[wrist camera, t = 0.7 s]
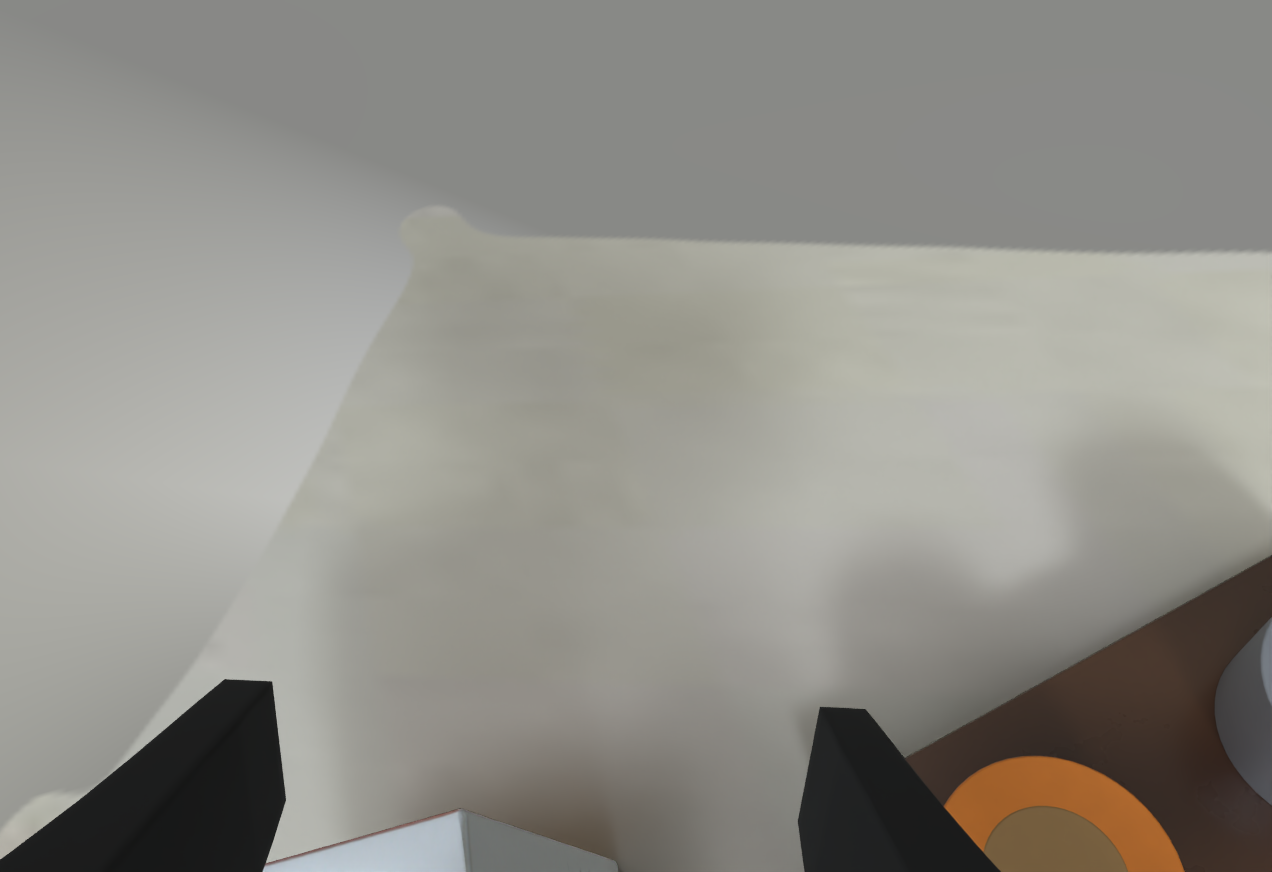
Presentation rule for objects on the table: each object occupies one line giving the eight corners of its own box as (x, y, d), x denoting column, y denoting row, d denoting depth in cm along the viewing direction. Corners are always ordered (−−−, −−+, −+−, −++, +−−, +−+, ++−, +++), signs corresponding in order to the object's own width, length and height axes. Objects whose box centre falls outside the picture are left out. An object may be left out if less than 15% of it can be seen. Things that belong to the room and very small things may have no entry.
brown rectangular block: (1563, 838, 21) (1634, 822, 19) (1007, 1148, 21) (1015, 1167, 19) (1286, 566, 26) (1319, 528, 23) (828, 819, 26) (819, 805, 23)
